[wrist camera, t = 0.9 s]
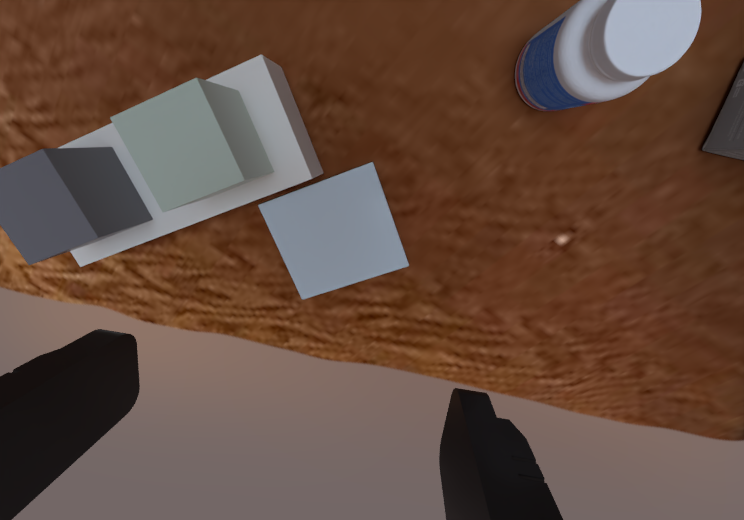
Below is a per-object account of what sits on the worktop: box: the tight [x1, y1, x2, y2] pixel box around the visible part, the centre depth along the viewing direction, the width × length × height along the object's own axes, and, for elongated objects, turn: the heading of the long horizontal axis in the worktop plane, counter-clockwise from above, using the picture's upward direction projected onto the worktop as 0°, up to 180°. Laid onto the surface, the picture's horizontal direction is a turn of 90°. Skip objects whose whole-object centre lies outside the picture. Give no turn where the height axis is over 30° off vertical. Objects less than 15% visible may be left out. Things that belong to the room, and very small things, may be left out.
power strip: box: [59, 54, 323, 267], centre depth 26 cm, size 26×8×5 cm, turn 110°
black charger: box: [0, 147, 153, 265], centre depth 24 cm, size 5×5×7 cm
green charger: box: [110, 78, 274, 212], centre depth 22 cm, size 5×5×7 cm
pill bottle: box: [515, 0, 701, 111], centre depth 20 cm, size 6×5×10 cm
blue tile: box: [258, 162, 409, 300], centre depth 29 cm, size 9×10×1 cm
